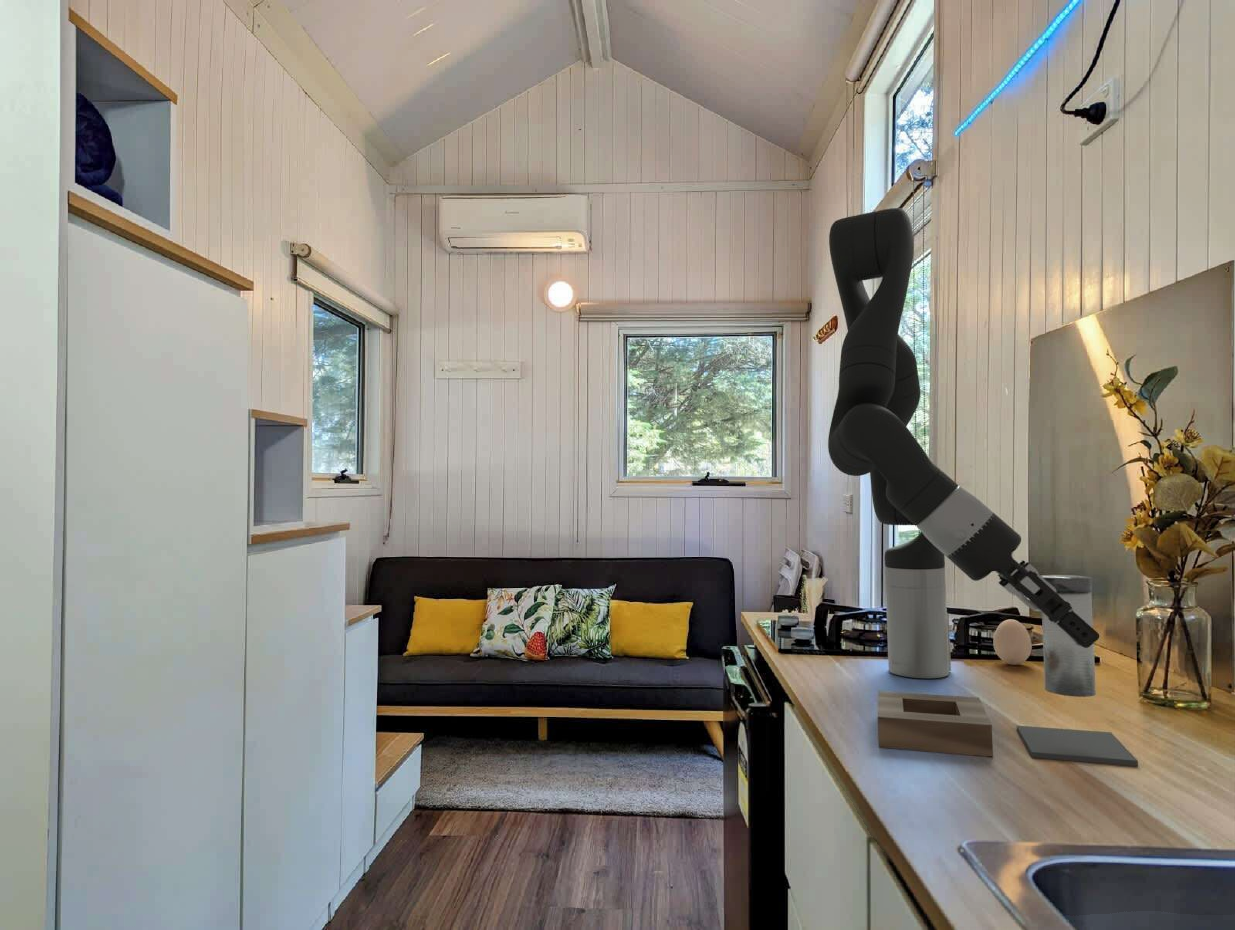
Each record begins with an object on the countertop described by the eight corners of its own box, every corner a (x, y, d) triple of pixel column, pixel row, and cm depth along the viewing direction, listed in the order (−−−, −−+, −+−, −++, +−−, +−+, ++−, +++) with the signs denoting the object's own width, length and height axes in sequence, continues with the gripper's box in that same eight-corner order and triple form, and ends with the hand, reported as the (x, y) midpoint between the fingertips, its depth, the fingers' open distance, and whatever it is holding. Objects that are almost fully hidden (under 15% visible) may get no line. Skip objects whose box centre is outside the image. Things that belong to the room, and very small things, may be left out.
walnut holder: (879, 718, 99) (878, 691, 99) (980, 725, 95) (978, 697, 95) (878, 747, 87) (877, 716, 87) (993, 757, 83) (991, 725, 83)
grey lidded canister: (1056, 683, 90) (1051, 574, 90) (1104, 691, 86) (1098, 577, 86) (1036, 690, 87) (1031, 576, 87) (1084, 699, 83) (1079, 580, 83)
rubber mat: (1016, 730, 92) (1016, 725, 92) (1111, 737, 89) (1110, 732, 89) (1031, 757, 83) (1031, 751, 83) (1138, 766, 80) (1137, 760, 80)
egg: (1033, 669, 123) (1031, 622, 124) (994, 666, 126) (992, 621, 126) (1031, 662, 129) (1029, 617, 129) (993, 659, 131) (991, 615, 132)
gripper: (999, 510, 83) (1132, 625, 78) (983, 509, 96) (1095, 607, 92) (948, 558, 84) (1076, 673, 80) (939, 550, 98) (1048, 648, 93)
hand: (1085, 637), depth 86 cm, fingers closed on grey lidded canister, 5 cm apart
